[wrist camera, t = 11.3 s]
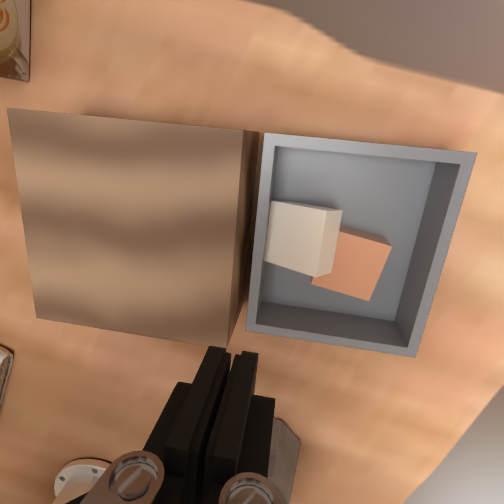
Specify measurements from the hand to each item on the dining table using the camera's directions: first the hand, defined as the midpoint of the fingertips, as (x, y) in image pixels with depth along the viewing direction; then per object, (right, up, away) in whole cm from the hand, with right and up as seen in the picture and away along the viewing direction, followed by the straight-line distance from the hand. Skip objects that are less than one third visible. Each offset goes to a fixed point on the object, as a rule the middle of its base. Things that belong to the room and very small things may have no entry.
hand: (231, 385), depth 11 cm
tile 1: (+9, +3, +16) cm, 18 cm away
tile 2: (+4, +6, +15) cm, 16 cm away
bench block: (-7, +8, +20) cm, 23 cm away
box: (+8, +6, +19) cm, 21 cm away
